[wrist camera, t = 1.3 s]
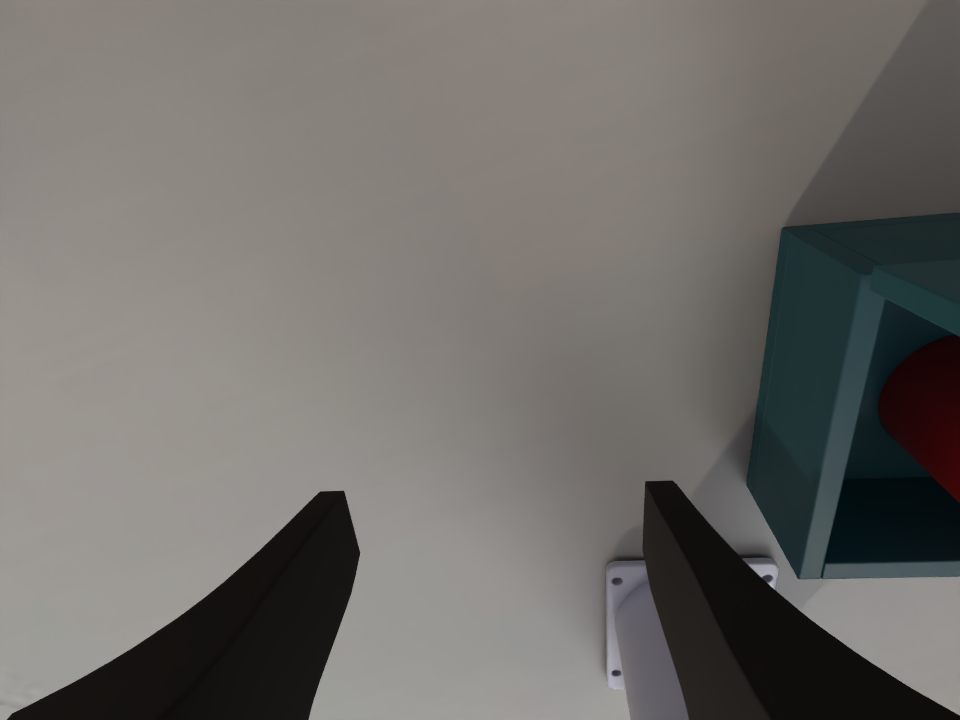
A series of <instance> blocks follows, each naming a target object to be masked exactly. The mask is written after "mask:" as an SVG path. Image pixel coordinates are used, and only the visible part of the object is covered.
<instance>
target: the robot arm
mask: <svg viewBox="0 0 960 720" xmlns="http://www.w3.org/2000/svg"><path fill="white" fill-rule="evenodd" d="M642 548H643V553H644V559H645V560H640V561H613V562H611V563H609V564H608V565H607V567H606V681H607V686H608V687H609V688H610V689H613V690H626V695H627V701H628V707H629V712H630V718H631V720H960V716H959V715H957V714H956V713H954V712H952V711H950V710H949V709H947V708H945V707H943V706H942V705H940V704H938V703H936V702H935V701H933V700H931V699H929V698H927V697H926V696H924V695H922V694H920V693H919V692H917V691H915V690H913V689H912V688H910V687H909V686H907V685H905V684H904V683H902V682H900V681H899V680H897V679H896V678H894V677H893V676H891V675H889V674H888V673H886V672H885V671H883V670H882V669H880V668H878V667H877V666H875V665H874V664H872V663H871V662H869V661H868V660H866V659H865V658H863V657H862V656H860V655H859V654H857V653H856V652H854V651H853V650H852V649H850V648H849V647H847V646H846V645H845V644H843V643H842V642H840V641H839V640H838V639H836V638H835V637H834V636H832V635H831V634H829V633H828V632H827V631H825V630H824V629H822V628H821V627H820V626H818V625H817V624H816V623H814V622H813V621H812V620H810V619H809V618H808V617H807V616H805V615H804V614H803V613H802V612H800V611H799V610H798V609H797V608H796V607H794V606H793V605H792V604H791V603H790V602H788V601H787V600H786V599H785V598H784V597H782V596H781V595H780V594H779V593H778V592H777V591H776V590H775V588H776V583H777V577H778V572H779V567H778V565H777V563H776V562H775V560H773V559H771V558H741V557H740V556H739V555H738V554H737V553H736V552H735V551H734V550H733V549H732V548H731V547H730V546H729V545H728V544H727V543H726V541H725V540H724V539H723V538H722V537H721V536H720V535H719V534H718V533H717V532H716V531H715V530H714V529H713V527H712V526H711V525H710V524H709V523H708V522H707V521H706V519H705V518H704V517H703V516H702V515H701V514H700V512H699V511H698V510H697V509H696V508H695V506H694V505H693V504H692V503H691V502H690V500H689V499H688V498H687V497H686V495H685V494H684V493H683V492H682V490H681V489H680V488H679V487H678V485H677V484H676V483H675V482H673V481H645V499H644V523H643V547H642ZM359 556H360V551H359V547H358V543H357V539H356V535H355V531H354V527H353V524H352V520H351V516H350V512H349V508H348V504H347V500H346V496H345V492H344V491H322V492H319V493H318V494H317V495H316V496H315V497H314V498H313V499H312V500H311V501H310V502H309V503H308V504H307V505H306V506H305V507H304V508H303V509H302V510H301V511H300V512H299V513H298V514H297V515H296V516H295V517H294V518H293V519H292V520H291V521H290V522H289V523H288V524H287V525H286V526H285V527H284V528H283V529H281V530H280V531H279V532H278V533H277V534H276V535H275V536H274V537H273V538H272V539H271V540H270V541H269V542H268V543H267V544H266V545H265V546H264V547H263V548H262V549H261V550H260V551H259V552H257V553H256V554H255V555H254V556H253V557H252V558H251V559H250V560H248V561H247V562H246V563H245V564H244V565H243V566H242V567H241V568H239V569H238V570H237V571H236V572H235V573H234V574H233V575H232V576H230V577H229V578H228V579H227V580H226V581H225V582H223V583H222V584H221V585H220V586H219V587H217V588H216V589H215V590H214V591H212V592H211V593H210V594H209V595H207V596H206V597H205V598H204V599H202V600H201V601H200V602H198V603H197V604H196V605H194V606H193V607H192V608H190V609H189V610H188V611H186V612H185V613H184V614H182V615H181V616H180V617H178V618H177V619H175V620H174V621H172V622H171V623H169V624H168V625H166V626H165V627H163V628H162V629H160V630H159V631H157V632H156V633H155V634H153V635H152V636H150V637H149V638H147V639H146V640H144V641H143V642H141V643H140V644H138V645H137V646H135V647H133V648H132V649H130V650H129V651H127V652H125V653H124V654H122V655H120V656H119V657H117V658H115V659H114V660H112V661H111V662H109V663H107V664H105V665H104V666H102V667H100V668H98V669H97V670H95V671H93V672H91V673H90V674H88V675H86V676H84V677H83V678H81V679H79V680H77V681H75V682H73V683H72V684H70V685H68V686H66V687H64V688H62V689H60V690H58V691H56V692H54V693H52V694H50V695H48V696H46V697H44V698H42V699H40V700H39V701H37V702H35V703H33V704H31V705H29V706H27V707H25V708H23V709H21V710H19V711H17V712H14V713H12V714H11V716H10V717H9V718H8V719H7V720H308V719H309V715H310V711H311V707H312V704H313V700H314V697H315V694H316V691H317V688H318V685H319V682H320V679H321V676H322V673H323V671H324V668H325V665H326V662H327V660H328V657H329V654H330V651H331V649H332V646H333V643H334V640H335V638H336V635H337V632H338V629H339V627H340V624H341V621H342V618H343V615H344V613H345V610H346V607H347V604H348V601H349V598H350V595H351V592H352V588H353V584H354V580H355V575H356V571H357V566H358V561H359ZM764 575H766V576H764ZM614 578H618V579H614Z"/></svg>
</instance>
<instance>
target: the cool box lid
mask: <svg viewBox="0 0 960 720" xmlns="http://www.w3.org/2000/svg"><path fill="white" fill-rule="evenodd" d="M870 291H872V292H874V293H876V294H878V295H879V296H881V297H883V298H885V299H887V300H889V301H891V302H893V303H895V304H897V305H899V306H901V307H903V308H905V309H907V310H909V311H911V312H913V313H915V314H917V315H919V316H920V317H922V318H924V319H926V320H928V321H930V322H932V323H934V324H936V325H938V326H940V327H942V328H944V329H946V330H948V331H950V332H952V333H954V334H956V335H958V336H960V259H959V260H945V261H932V262H918V263H904V264H891V265H877V266H874V268H873V273H872V278H871V284H870Z"/></svg>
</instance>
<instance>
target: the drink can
mask: <svg viewBox="0 0 960 720" xmlns="http://www.w3.org/2000/svg"><path fill="white" fill-rule="evenodd" d="M879 416H880V420H881V423H882V425H883V427H884V429H885V430H886V432H887V433H888V434H889V435H890V436H891V437H892V438H893V439H894V440H895V441H896V442H897V443H898V444H899V445H900V446H901V447H902V448H903V449H904V450H905V451H906V452H907V453H908V454H909V455H911V456H912V457H913V458H914V459H915V460H916V461H917V462H918V463H919V464H920V465H921V466H922V467H923V468H924V469H925V470H926V471H927V472H928V473H929V474H930V475H931V476H932V477H933V478H934V479H935V480H936V481H937V482H938V483H939V484H940V485H941V486H942V487H943V488H944V489H945V490H947V491H948V492H949V493H950V494H951V495H952V496H953V497H954V498H955V499H956V500H957V501H958V502H959V503H960V336H958V335H956V334H955V335H950V336H947V337H944V338H941V339H938V340H936V341H934V342H931V343H929V344H927V345H926V346H924V347H922V348H920V349H919V350H917V351H916V352H914V353H913V354H911V355H910V356H909V357H908V358H906V359H905V360H904V361H903V362H902V363H901V364H900V365H899V366H898V367H897V368H896V369H895V370H894V371H893V373H892V374H891V375H890V377H889V378H888V380H887V381H886V383H885V385H884V387H883V389H882V392H881V396H880V400H879Z"/></svg>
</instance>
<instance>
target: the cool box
mask: <svg viewBox="0 0 960 720" xmlns="http://www.w3.org/2000/svg"><path fill="white" fill-rule="evenodd" d="M959 259H960V213H952V214H939V215H927V216H915V217H903V218H891V219H878V220H866V221H854V222H842V223H830V224H817V225H805V226H793V227H784V228H782V232H781V239H780V246H779V254H778V261H777V268H776V275H775V283H774V290H773V297H772V304H771V312H770V319H769V326H768V333H767V341H766V348H765V355H764V362H763V369H762V377H761V384H760V391H759V398H758V406H757V413H756V420H755V427H754V435H753V442H752V449H751V456H750V463H749V471H748V478H747V487H748V489H749V491H750V492H751V494H752V496H753V498H754V500H755V501H756V503H757V505H758V507H759V509H760V511H761V512H762V514H763V516H764V518H765V520H766V521H767V523H768V525H769V527H770V529H771V531H772V532H773V534H774V536H775V538H776V540H777V541H778V543H779V545H780V547H781V549H782V551H783V552H784V554H785V556H786V558H787V560H788V561H789V563H790V565H791V567H792V569H793V570H794V572H795V574H796V576H797V578H798V579H820V578H822V579H847V578H903V577H958V576H960V503H959V502H958V501H957V500H956V499H955V498H954V497H953V496H952V495H951V494H950V493H949V492H948V491H947V490H945V489H944V488H943V487H942V486H941V485H940V484H939V483H938V482H937V481H936V480H935V479H934V478H933V477H932V476H931V475H930V474H929V473H928V472H927V471H926V470H925V469H924V468H923V467H922V466H921V465H920V464H919V463H918V462H917V461H916V460H915V459H914V458H913V457H912V456H911V455H909V454H908V453H907V452H906V451H905V450H904V449H903V448H902V447H901V446H900V445H899V444H898V443H897V442H896V441H895V440H894V439H893V438H892V437H891V436H890V435H889V434H888V433H887V432H886V430H885V429H884V427H883V425H882V423H881V420H880V416H879V400H880V396H881V392H882V389H883V387H884V385H885V383H886V381H887V380H888V378H889V377H890V375H891V374H892V373H893V371H894V370H895V369H896V368H897V367H898V366H899V365H900V364H901V363H902V362H903V361H904V360H905V359H906V358H908V357H909V356H910V355H911V354H913V353H914V352H916V351H917V350H919V349H920V348H922V347H924V346H926V345H927V344H929V343H931V342H934V341H936V340H938V339H941V338H944V337H947V336H950V335H955V334H954V333H952V332H950V331H948V330H946V329H944V328H942V327H940V326H938V325H936V324H934V323H932V322H930V321H928V320H926V319H924V318H922V317H920V316H919V315H917V314H915V313H913V312H911V311H909V310H907V309H905V308H903V307H901V306H899V305H897V304H895V303H893V302H891V301H889V300H887V299H885V298H883V297H881V296H879V295H878V294H876V293H874V292H872V291H870V284H871V278H872V273H873V268H874V266H877V265H891V264H904V263H918V262H932V261H945V260H959Z"/></svg>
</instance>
